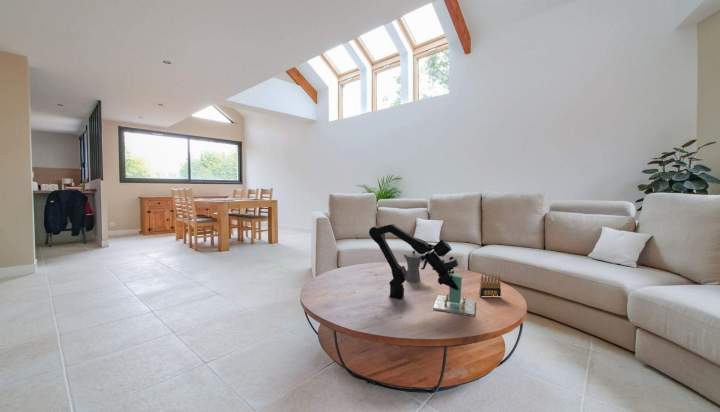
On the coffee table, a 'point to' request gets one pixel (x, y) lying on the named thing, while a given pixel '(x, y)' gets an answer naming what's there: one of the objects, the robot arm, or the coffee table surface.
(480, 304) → the coffee table surface
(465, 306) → the chassis
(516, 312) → the coffee table surface
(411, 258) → the coffeepot
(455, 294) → the green block
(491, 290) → the ammunition clip
